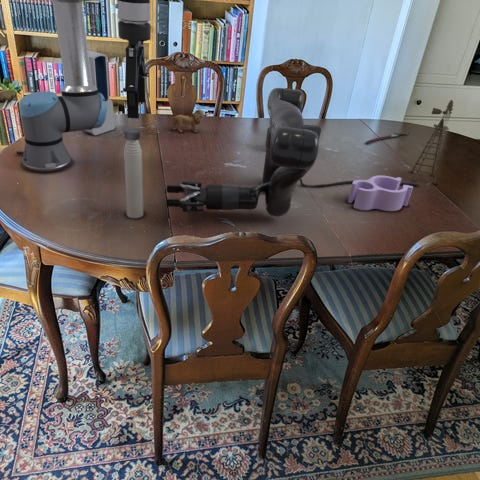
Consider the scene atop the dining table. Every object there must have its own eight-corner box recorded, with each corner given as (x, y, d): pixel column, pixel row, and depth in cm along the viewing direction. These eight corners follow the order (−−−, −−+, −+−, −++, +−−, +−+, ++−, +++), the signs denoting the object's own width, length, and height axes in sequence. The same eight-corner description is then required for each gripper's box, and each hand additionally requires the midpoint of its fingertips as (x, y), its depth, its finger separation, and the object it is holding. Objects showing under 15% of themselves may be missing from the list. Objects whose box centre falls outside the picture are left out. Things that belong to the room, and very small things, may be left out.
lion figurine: (201, 127, 203) (202, 107, 198) (204, 132, 199) (205, 111, 194) (168, 129, 198) (168, 108, 193) (170, 133, 194) (171, 112, 189)
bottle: (146, 212, 139) (144, 130, 125) (138, 219, 135) (136, 135, 121) (131, 208, 140) (128, 126, 126) (123, 216, 136) (119, 132, 122)
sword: (404, 132, 223) (404, 129, 222) (409, 134, 221) (409, 132, 220) (360, 143, 207) (361, 141, 206) (365, 146, 205) (366, 143, 204)
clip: (360, 214, 150) (365, 195, 146) (341, 196, 159) (346, 177, 156) (412, 209, 156) (418, 190, 152) (390, 192, 166) (396, 174, 162)
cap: (142, 136, 126) (142, 129, 124) (135, 141, 122) (135, 133, 121) (129, 134, 126) (128, 126, 125) (122, 138, 123) (121, 130, 122)
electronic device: (93, 136, 184) (86, 56, 167) (80, 131, 187) (72, 52, 170) (116, 128, 193) (112, 52, 177) (103, 124, 196) (97, 48, 180)
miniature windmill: (435, 184, 175) (463, 105, 159) (412, 180, 176) (438, 101, 160) (432, 174, 182) (458, 98, 166) (410, 171, 183) (434, 94, 167)
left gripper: (126, 12, 121) (129, 94, 132) (108, 28, 100) (114, 124, 111) (155, 15, 122) (156, 96, 133) (143, 31, 101) (145, 126, 112)
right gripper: (221, 174, 141) (166, 173, 139) (225, 197, 129) (166, 195, 127) (219, 196, 145) (166, 195, 143) (223, 220, 133) (166, 219, 131)
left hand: (136, 109), depth 122 cm, fingers open, 13 cm apart
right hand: (166, 195), depth 135 cm, fingers open, 8 cm apart
